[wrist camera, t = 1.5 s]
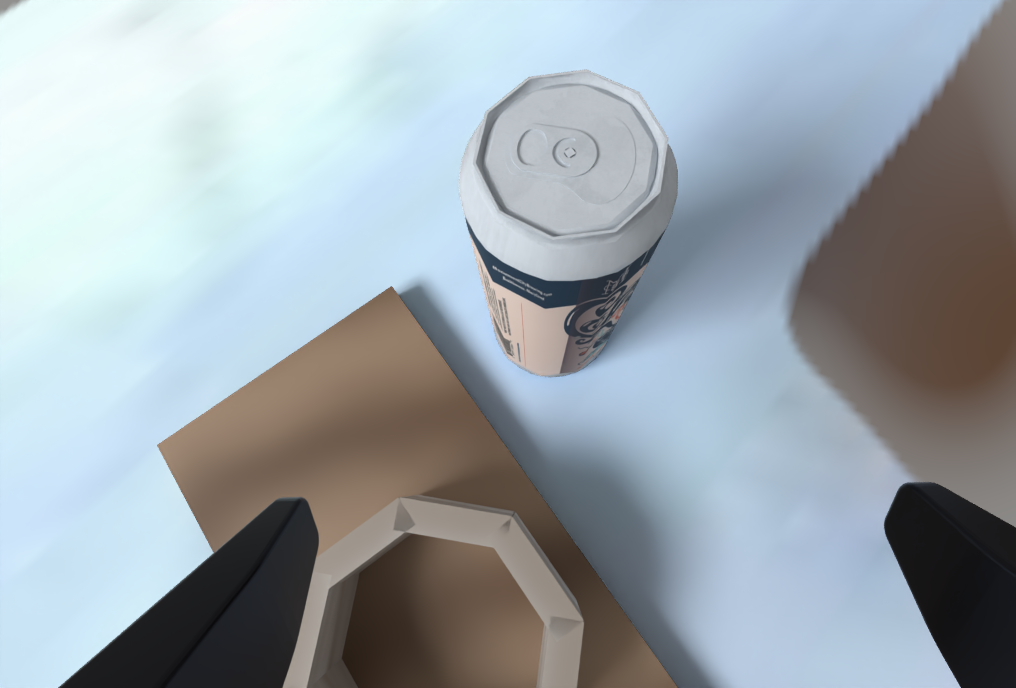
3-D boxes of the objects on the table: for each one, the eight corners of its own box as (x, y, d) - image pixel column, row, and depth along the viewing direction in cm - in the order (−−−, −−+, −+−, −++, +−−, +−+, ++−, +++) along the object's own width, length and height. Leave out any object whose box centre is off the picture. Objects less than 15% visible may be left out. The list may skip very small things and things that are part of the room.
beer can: (598, 389, 21) (675, 281, 10) (483, 367, 22) (427, 239, 10) (616, 280, 23) (703, 68, 11) (506, 261, 23) (480, 38, 11)
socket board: (792, 847, 17) (866, 952, 13) (521, 1094, 16) (517, 1288, 12) (397, 294, 23) (370, 256, 19) (173, 446, 22) (95, 438, 18)
